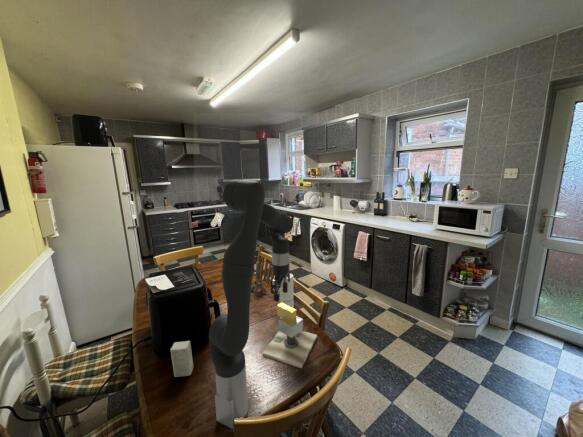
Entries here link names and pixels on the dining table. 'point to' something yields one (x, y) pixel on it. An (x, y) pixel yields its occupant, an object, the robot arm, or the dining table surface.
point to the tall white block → (288, 294)
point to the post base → (291, 348)
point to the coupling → (289, 320)
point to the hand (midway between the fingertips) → (281, 296)
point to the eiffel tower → (256, 284)
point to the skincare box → (182, 358)
